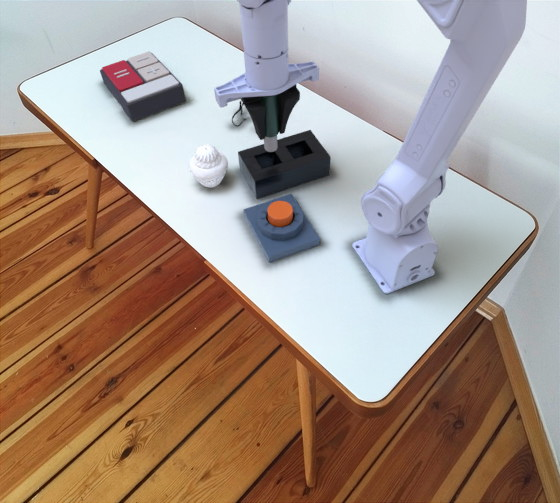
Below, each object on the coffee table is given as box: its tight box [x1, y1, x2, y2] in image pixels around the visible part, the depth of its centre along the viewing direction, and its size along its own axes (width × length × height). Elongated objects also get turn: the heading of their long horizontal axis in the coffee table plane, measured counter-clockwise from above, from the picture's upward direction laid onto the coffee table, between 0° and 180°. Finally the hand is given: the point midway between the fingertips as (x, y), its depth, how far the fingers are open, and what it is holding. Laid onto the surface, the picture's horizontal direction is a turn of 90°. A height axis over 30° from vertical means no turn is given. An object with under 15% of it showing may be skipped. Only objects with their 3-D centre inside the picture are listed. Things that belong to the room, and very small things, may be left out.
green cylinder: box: [260, 94, 280, 152], centre depth 74 cm, size 3×3×10 cm
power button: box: [267, 201, 293, 227], centre depth 74 cm, size 4×4×2 cm
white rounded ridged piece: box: [188, 144, 229, 189], centre depth 81 cm, size 6×6×7 cm
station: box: [242, 193, 321, 263], centre depth 76 cm, size 10×8×3 cm
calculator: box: [99, 51, 187, 122], centre depth 98 cm, size 11×4×15 cm
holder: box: [237, 129, 332, 200], centre depth 83 cm, size 7×13×4 cm, turn 113°
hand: (270, 132), depth 76 cm, fingers closed on green cylinder, 2 cm apart
